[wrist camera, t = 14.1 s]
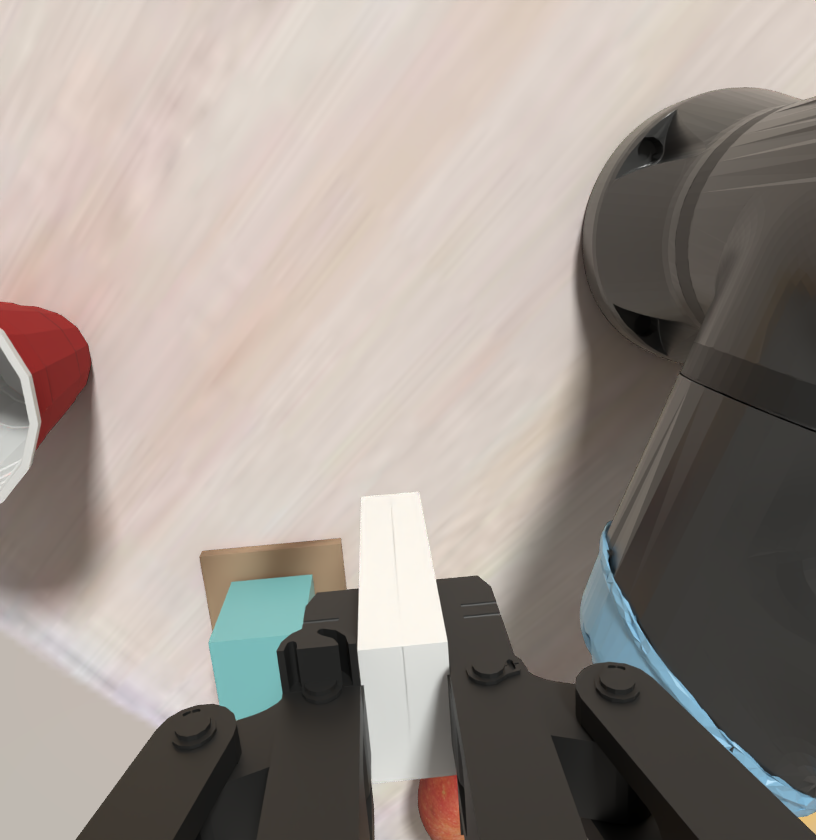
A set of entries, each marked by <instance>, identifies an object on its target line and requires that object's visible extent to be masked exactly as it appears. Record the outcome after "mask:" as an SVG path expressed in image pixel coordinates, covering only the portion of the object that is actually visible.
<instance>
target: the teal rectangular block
mask: <svg viewBox="0 0 816 840" xmlns="http://www.w3.org/2000/svg"><path fill="white" fill-rule="evenodd" d="M314 596H315V591H314V583H313V575H312V574H311V575H300V576H289V577H279V578H268V579H257V580H247V581H236V582H231V585H230V588H229V590H228V593H227V595H226V598H225V601H224V603H223V606H222V608H221V611H220V614H219V616H218V619H217V622H216V624H215V627H214V629H213V632H212V635H211V637H210V640H209V649H210V654H211V660H212V665H213V671H214V677H215V682H216V688H217V693H218V699H219V704H220V706H224V707H226V708H228V709H229V710H230V711H231V712H233V713H234V715H235V719H236V720H240V719H243V718H246V717H249V716H252V715H255V714H257V713H260V712H262V711H264V710H267V709H268V708H270V707H272V706H273V705H275V704H276V703H278V702H279V701H280V700H281V699H282V694H283V693H282V686H281V680H280V673H279V666H278V659H277V653H276V651H277V649H278V647H279V645H280V643H281V642H282V641H283V640H284V639H285V638H287V637H288V636H289V635H290V634H292V633H294V632H296V631H298V630H300V629H302V625H303V618H304V612H305V606H306V605H307V604H308V603H309V602H310V600H311V599H312V598H313V597H314Z"/></svg>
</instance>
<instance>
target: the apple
mask: <svg viewBox="0 0 816 840" xmlns="http://www.w3.org/2000/svg"><path fill="white" fill-rule="evenodd" d="M418 808H419V813H420V817H421V820H422V823H423V825H424V827H425V829H426V831H427V833H428V834H429V836H430V837H431V839H432V840H465V839H464V835H461V831H460V816H459V801H458V785H457V773H456V775H452V776H443V777H433V778H424V779H421V780H420V784H419V789H418Z"/></svg>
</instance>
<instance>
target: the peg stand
mask: <svg viewBox="0 0 816 840" xmlns="http://www.w3.org/2000/svg"><path fill="white" fill-rule="evenodd" d="M200 563H201V568H202V574H203V580H204V585H205V591H206V596H207V602H208V608H209V613H210V619H211V624H212V630H213V629H214V627H215V624H216V622H217V619H218V616H219V614H220V611H221V608H222V606H223V603H224V601H225V598H226V595H227V593H228V590H229V588H230V585H231V582H236V581H247V580H257V579H268V578H279V577H289V576H300V575H311V574H312V575H313V583H314V591H315V594H316V593H318V592H328V591H339V590H347V588H346V579H345V570H344V561H343V553H342V544H341V538H338V539H327V540H317V541H306V542H295V543H284V544H273V545H262V546H252V547H241V548H230V549H219V550H208V551H202V553H201V555H200Z"/></svg>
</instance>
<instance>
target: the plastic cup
mask: <svg viewBox="0 0 816 840" xmlns="http://www.w3.org/2000/svg"><path fill="white" fill-rule="evenodd" d="M90 367H91V358H90V353H89V347H88V344H87V342H86V341H85V339H84V337H83V336H82V334H81V333H80V331H79V330H78V328H77V327H76V326H74V325H73V324H72V323H71V322H69V321H68V320H67V319H65V318H64V317H63V316H62V315H59V314H58V313H55V312H51V311H48V310H45V309H42V308H39V307H35V306H21V305H17V304H14V303H7V302H0V504H1V503H3V501H4V500H5V499H6V498H7V496H8V495H9V494H10V493H11V491H12V490H13V489H14V487H15V486H16V485H17V484H18V482H19V481H20V480H21V479H22V477H23V476H24V475H25V474H26V472H27V471H28V470H29V468H30V467H31V465H32V463H33V459H34V454H35V451H36V450H37V448H38V447H39V445H40V444H41V442H42V441H43V440H44V439H45V437H46V435H47V434H48V433H49V431H50V430H51V429H52V428H53V427H54V426H55V424H56V423H57V422H58V421H59V420H60V418H61V417H62V416H63V415H64V414H65V412H66V411H67V410H68V409H69V407H70V406H71V405H72V404H73V402H74V401H75V400H76V397H77V395H78V394H79V393H80V392H81V390H82V389H83V388H84V387H85V385H86V383H87V380H88V375H89V371H90Z"/></svg>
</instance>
